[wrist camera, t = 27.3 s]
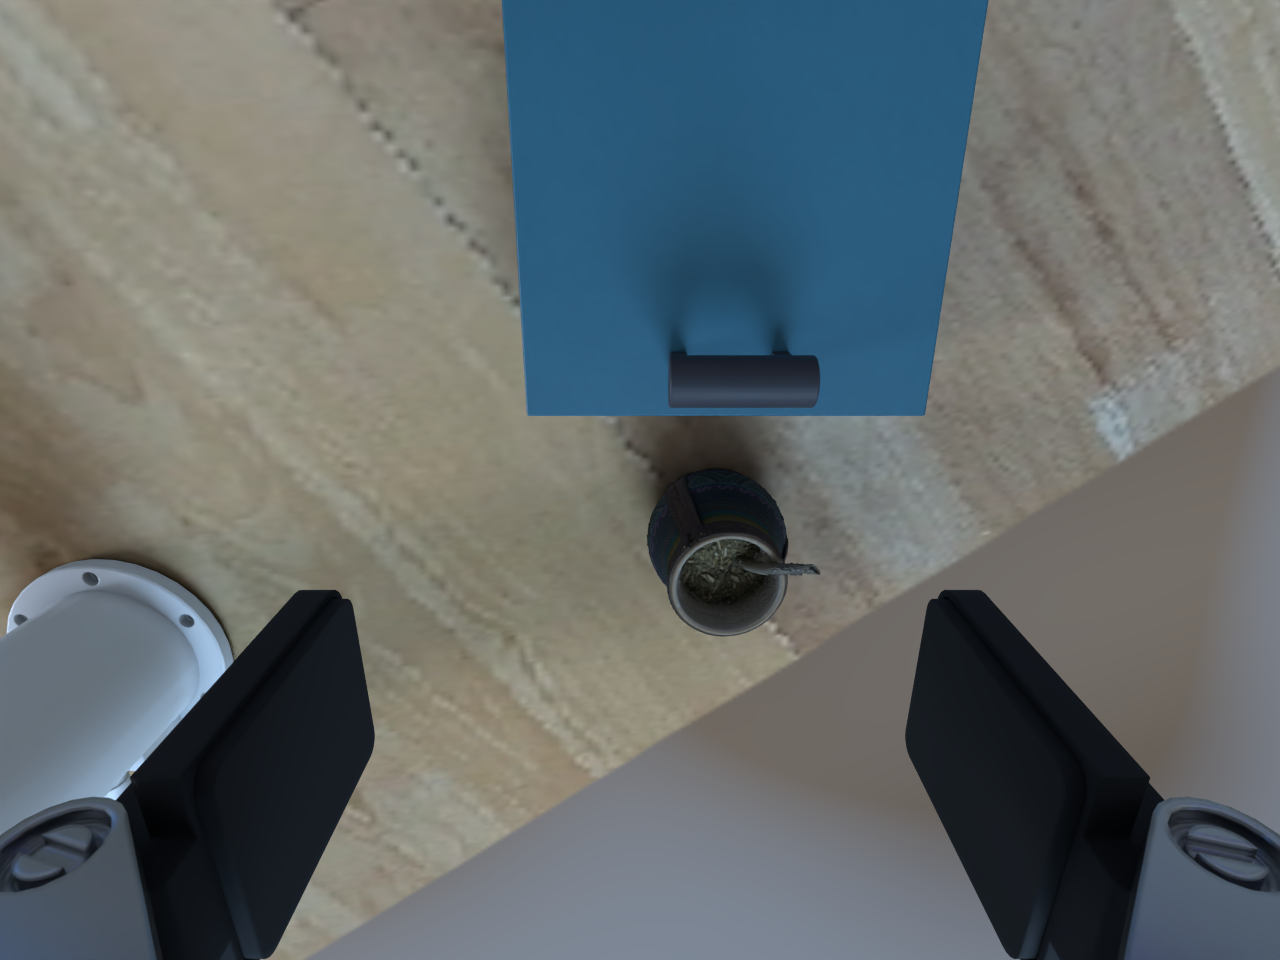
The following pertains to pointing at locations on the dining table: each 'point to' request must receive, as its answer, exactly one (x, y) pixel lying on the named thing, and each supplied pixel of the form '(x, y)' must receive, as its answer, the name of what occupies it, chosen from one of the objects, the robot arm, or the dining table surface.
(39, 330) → the dining table surface
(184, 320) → the dining table surface
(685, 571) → the mate gourd
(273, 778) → the robot arm
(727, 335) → the lid
